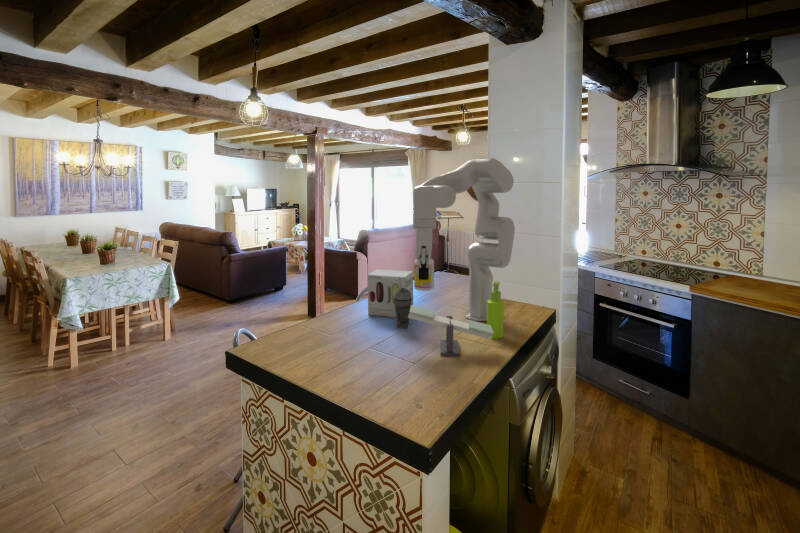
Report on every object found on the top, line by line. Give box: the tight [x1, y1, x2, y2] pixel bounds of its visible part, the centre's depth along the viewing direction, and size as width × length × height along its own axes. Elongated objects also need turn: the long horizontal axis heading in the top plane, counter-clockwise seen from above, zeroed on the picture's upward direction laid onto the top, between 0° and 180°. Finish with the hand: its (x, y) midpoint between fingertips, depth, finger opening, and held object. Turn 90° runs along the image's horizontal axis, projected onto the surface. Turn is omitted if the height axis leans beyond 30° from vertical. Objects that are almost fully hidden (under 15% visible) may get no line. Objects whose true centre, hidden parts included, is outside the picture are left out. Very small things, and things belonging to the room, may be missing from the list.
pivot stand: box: [439, 315, 460, 357], centre depth 138 cm, size 6×12×10 cm, turn 175°
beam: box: [408, 304, 494, 340], centre depth 137 cm, size 28×8×3 cm, turn 86°
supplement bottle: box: [413, 255, 435, 292], centre depth 138 cm, size 7×7×13 cm
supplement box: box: [367, 268, 414, 318], centre depth 179 cm, size 17×13×18 cm
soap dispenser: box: [486, 281, 505, 340], centre depth 150 cm, size 6×7×20 cm
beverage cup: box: [394, 277, 412, 330], centre depth 160 cm, size 7×7×20 cm
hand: (424, 276), depth 138 cm, fingers closed on supplement bottle, 6 cm apart
